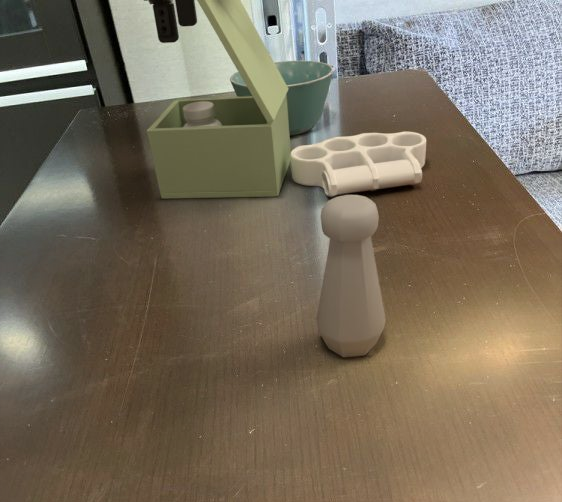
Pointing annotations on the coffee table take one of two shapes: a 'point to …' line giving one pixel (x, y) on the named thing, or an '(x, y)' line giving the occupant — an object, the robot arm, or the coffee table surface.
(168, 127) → the bin
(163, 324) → the coffee table surface
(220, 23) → the bin lid
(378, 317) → the salt shaker
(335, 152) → the knuckle duster
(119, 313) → the coffee table surface
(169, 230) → the coffee table surface
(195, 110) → the pill bottle
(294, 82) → the bowl
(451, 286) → the coffee table surface
